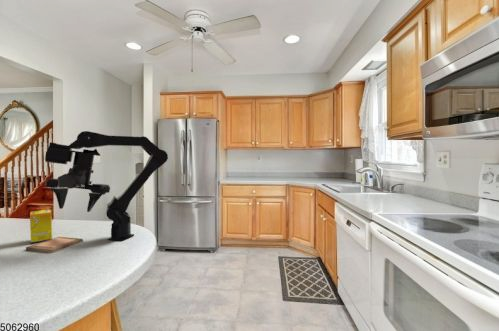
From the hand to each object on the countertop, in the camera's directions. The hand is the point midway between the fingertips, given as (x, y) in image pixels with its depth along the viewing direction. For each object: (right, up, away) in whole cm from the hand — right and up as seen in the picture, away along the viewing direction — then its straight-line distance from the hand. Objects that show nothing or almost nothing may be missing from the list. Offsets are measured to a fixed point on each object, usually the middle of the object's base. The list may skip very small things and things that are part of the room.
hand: (74, 210), depth 84 cm
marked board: (-6, -12, 0) cm, 14 cm away
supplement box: (-16, -13, +5) cm, 21 cm away
